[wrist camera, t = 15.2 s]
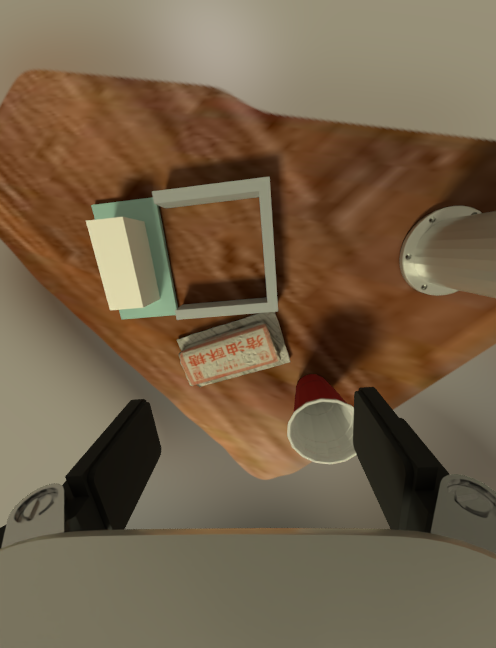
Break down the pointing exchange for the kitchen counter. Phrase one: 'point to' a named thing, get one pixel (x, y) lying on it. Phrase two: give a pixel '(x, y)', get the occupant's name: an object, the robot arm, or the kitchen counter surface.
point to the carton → (124, 262)
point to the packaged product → (233, 349)
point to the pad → (157, 243)
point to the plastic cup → (321, 422)
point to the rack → (262, 190)
